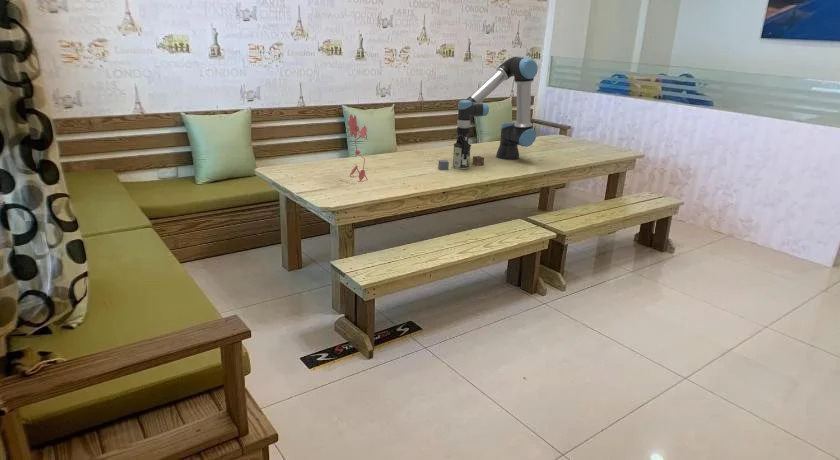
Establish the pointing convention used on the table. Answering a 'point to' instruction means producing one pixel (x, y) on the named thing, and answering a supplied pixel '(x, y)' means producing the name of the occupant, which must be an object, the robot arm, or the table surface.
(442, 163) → the blue-gray block
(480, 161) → the walnut block
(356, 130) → the red plant
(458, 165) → the coffee can
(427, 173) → the table surface
